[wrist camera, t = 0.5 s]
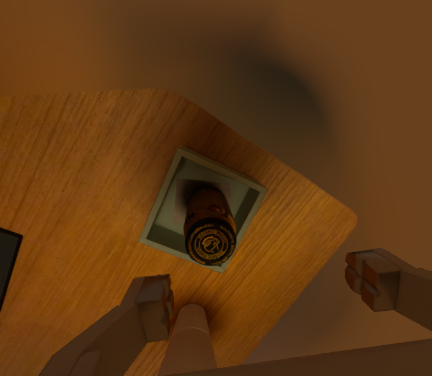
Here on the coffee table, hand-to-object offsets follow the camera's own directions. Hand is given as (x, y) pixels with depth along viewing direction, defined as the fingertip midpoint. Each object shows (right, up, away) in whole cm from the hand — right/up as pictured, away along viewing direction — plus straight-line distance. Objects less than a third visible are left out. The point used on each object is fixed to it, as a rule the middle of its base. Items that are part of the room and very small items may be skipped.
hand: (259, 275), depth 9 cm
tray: (-4, +2, +23) cm, 23 cm away
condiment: (-4, +2, +23) cm, 23 cm away
